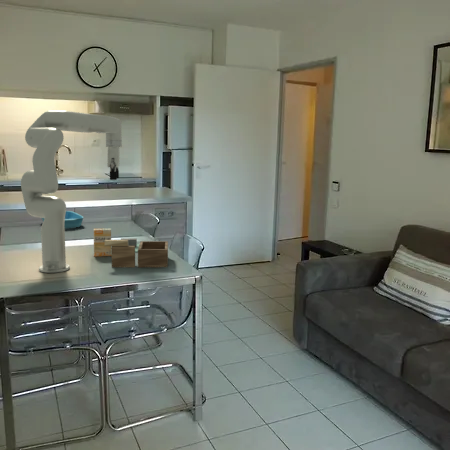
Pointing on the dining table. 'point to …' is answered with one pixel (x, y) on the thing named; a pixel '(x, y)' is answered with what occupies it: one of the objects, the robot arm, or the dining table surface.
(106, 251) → the supplement box
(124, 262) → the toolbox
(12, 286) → the dining table surface
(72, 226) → the casserole dish
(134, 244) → the lid
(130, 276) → the dining table surface
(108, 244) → the tan wooden bar
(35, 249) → the dining table surface
